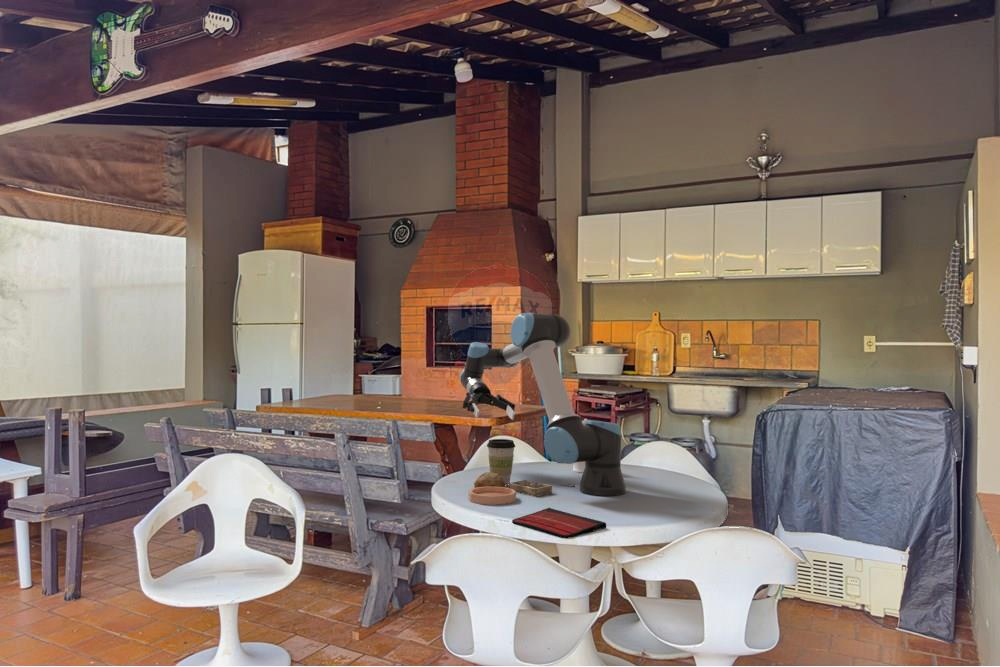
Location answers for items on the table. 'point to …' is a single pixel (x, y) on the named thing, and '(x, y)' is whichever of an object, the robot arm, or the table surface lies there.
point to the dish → (492, 495)
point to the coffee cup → (501, 457)
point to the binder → (559, 523)
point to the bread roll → (489, 480)
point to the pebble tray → (530, 487)
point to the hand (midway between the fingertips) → (495, 415)
